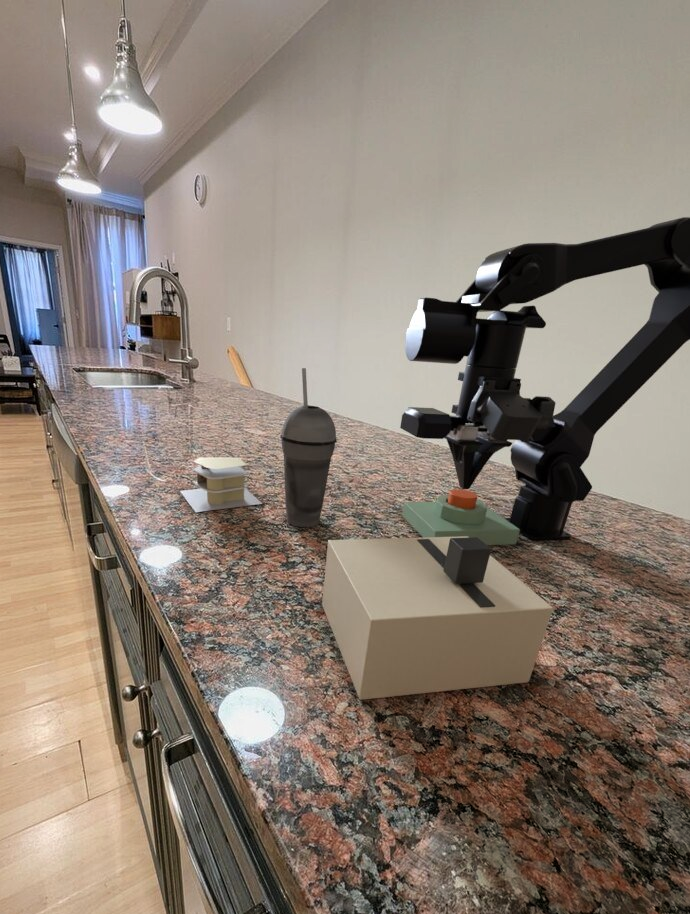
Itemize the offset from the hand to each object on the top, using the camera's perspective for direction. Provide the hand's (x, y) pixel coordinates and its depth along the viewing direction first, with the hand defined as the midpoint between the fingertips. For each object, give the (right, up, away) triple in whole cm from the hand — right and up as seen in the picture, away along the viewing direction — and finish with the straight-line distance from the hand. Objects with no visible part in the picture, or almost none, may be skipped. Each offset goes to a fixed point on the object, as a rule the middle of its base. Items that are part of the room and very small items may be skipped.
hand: (464, 488), depth 60 cm
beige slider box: (-12, -14, -21) cm, 28 cm away
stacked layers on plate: (-34, -1, +8) cm, 35 cm away
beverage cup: (-22, -4, +2) cm, 22 cm away
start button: (0, -2, +1) cm, 3 cm away
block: (0, -6, +2) cm, 6 cm away
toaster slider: (-9, -8, -25) cm, 28 cm away
